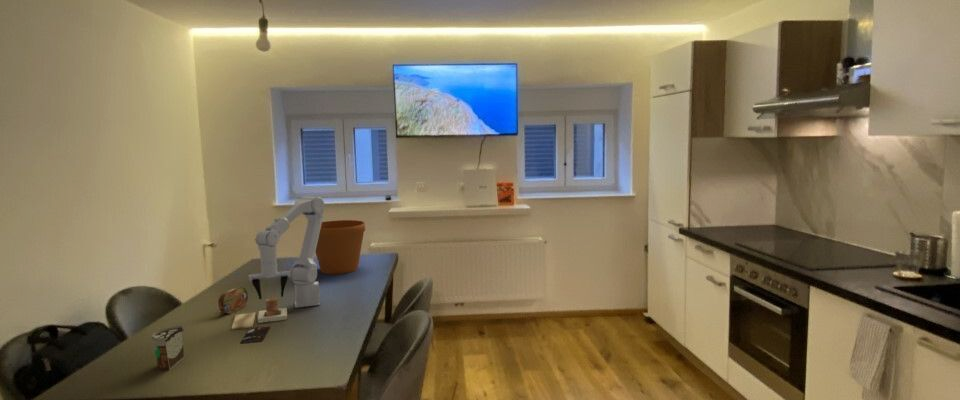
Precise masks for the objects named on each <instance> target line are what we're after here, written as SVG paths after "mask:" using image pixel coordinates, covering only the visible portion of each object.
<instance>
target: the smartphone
mask: <svg viewBox="0 0 960 400" xmlns="http://www.w3.org/2000/svg"><path fill="white" fill-rule="evenodd" d="M269 328H270V329H271V326H269V325H267V326H256V327H255V326H253V327H250V328H248V329H247V330H246V333H245V334H244V336H243V337H242V339H241V341H240V343H239V344H240V345H244V344H254V343H262V342H263V341H264V339H265V338H266V337H267V334H268V333H269V331H268V330H270V329H269Z"/></svg>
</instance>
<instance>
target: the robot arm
mask: <svg viewBox="0 0 960 400" xmlns="http://www.w3.org/2000/svg"><path fill="white" fill-rule="evenodd" d="M325 207H326V203H325V201H324V199H323V198H322V197H321V196H304V195H301V196H299V197H298V198H297V199H296V200H295V201H294V204H293V205H292V207H291V208H290V209H288V211H287V212H286V213H285V214H284V215H283V216H282V217H281V216H278V217H275V218H274V219H273V222H271V223H270V224H269V225H267V226H266V227H265V229H262V230H259V232H257V234H256V236H255V237H256V238H255V239H254V241H255V243H256V245H257V246H258V249H259V257H260V270H261V271H260V273H254V274H248V281H249V282H252V285H253V287H254V289H255V291H256V292H257V295H258V300H262V291H261V280H269V279H270V280H271V279H272V280H273V279H279V278H280V296H281V297H282V298H283V297H284V292H285V291H284V290H285V287H286V284H287V281H288V280H289V279H288V278H290V280H291V281H292V283H293V284H294V292H295V293H294V295H295V301H294V307H295V309H296V308H304V307H312V306H320V305H321V301H320V300H321V294H320V286H319V281H316V280H317V277H318V264H317V263H316V262H315V261H314V259H315V256H316V253H315V251H316V246H317V242H318V237H319V233H320V229H321V224H322V222H323V220H324V219H323V218H324V216H323V215H324V211H325ZM301 214H302V215H303V216H304V217H305V218H306V219H307V225H306V228H305V229H306V230H305V233H304V237H303V241H302V246H301V251H300V254H299V255H300V256H299V258H297V259H296V260H295V261H294V262H293V265H292V267H291V268H290V270H287V271H285V270H284V271H282V270H281V271H278V258H277V256H278V255H277V245H278V243H279V241H280V238H281V236H283V234H284V233H286V232H287V230H288V229H290V224H291V223H292V222H293V221H294V220H295V219H296V218H298V217H299V216H301Z"/></svg>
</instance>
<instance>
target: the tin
mask: <svg viewBox="0 0 960 400" xmlns="http://www.w3.org/2000/svg"><path fill="white" fill-rule="evenodd" d="M248 299H249V294H248V291H247V289H246V288H245V287H244V286H238V287H234V288H232V289H230V290H229V289H228V290H227V291H225V292H223V293H221V294H220V296H219V298H218V301H217V303H218V308H219V309H218V310H219V311H220V312H221V313H223V314H229V315H230V313H231V314H233V313H235V312H236V311H238V310H240V309H243V308H244V307H245V306H246V305H247V302H248Z"/></svg>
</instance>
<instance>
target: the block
mask: <svg viewBox="0 0 960 400" xmlns="http://www.w3.org/2000/svg"><path fill="white" fill-rule="evenodd" d="M265 309H266V311H267V316H274V315H280V314H279V311H278V309H279V300H278V297H268V298H265Z"/></svg>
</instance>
